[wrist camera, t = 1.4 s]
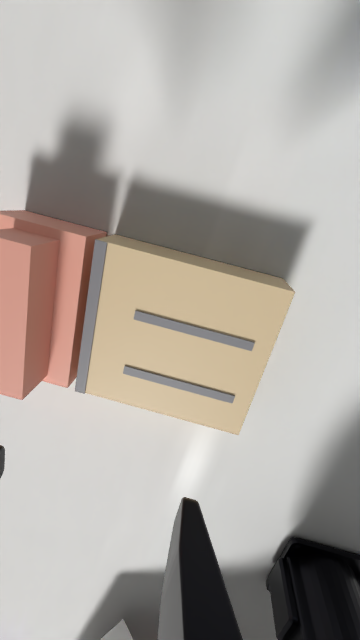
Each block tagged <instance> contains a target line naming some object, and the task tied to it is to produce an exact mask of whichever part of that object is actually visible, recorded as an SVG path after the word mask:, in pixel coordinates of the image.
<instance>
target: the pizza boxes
mask: <svg viewBox="0 0 360 640" xmlns="http://www.w3.org/2000/svg"><path fill="white" fill-rule="evenodd" d="M100 640H133V638H132V636H131V634H130V632H129V630H128V628H127V626H126V623H125V621H124V619H122V620H121V621H120V622H119V623H118V624H117V625H116V626H115V627H114V628H112V629H111V630H110V631H109V632H108V633H107V634H106V635H105V636H103V637H102V638H101V639H100Z"/></svg>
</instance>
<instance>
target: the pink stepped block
mask: <svg viewBox="0 0 360 640" xmlns="http://www.w3.org/2000/svg"><path fill="white" fill-rule="evenodd" d="M106 234H107V232H105V231H101V230H97V229H93V228H89V227H86V226H82V225H78V224H74V223H71V222H67V221H63V220H59V219H55V218H52V217H48V216H44V215H40V214H36V213H33V212H29V211H25V210H19V211H0V394H2V395H6V396H9V397H13V398H16V399H20V400H23V399H24V398H25V397H26V396H27V395H28V394H29V393H30V392H31V391H32V390H33V389H34V388H35V387H36V386H37V385H38V384H39V383H40V382H41V381H44V382H48V383H51V384H55V385H59V386H62V387H66V388H68V387H69V386H70V384H71V383H72V382H73V381H74V380H75V378H76V377H77V371H78V364H79V356H80V349H81V341H82V334H83V326H84V319H85V311H86V304H87V296H88V289H89V281H90V274H91V266H92V259H93V251H94V244H95V239H99V238H103V237H106Z"/></svg>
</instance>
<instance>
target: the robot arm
mask: <svg viewBox="0 0 360 640" xmlns="http://www.w3.org/2000/svg"><path fill="white" fill-rule="evenodd" d="M4 461H5V448H4V447H3V446H1V445H0V478H1V476H2V474H3V471H4ZM266 586H267V590H268V591H270V593H271V601H272V608H273V615H274V623H275V630H276V637H277V638H278V640H360V555H357V554H353V553H349V552H346V551H342V550H339V549H335V548H332V547H328V546H325V545H321V544H318V543H314V542H311V541H307V540H304V539H300V538H292V539H290V541H289V542H288V544H287V546H286V548H285V549H284V551H283V553H282V555H281V556H280V558H279V559H278V560H277V562H276V564H275V566H274V568H273V569H272V571H271V573H270V575H269V577H268V579H267V581H266ZM157 640H243V639H242V636H241V633H240V630H239V627H238V624H237V621H236V618H235V615H234V611H233V608H232V605H231V602H230V599H229V596H228V593H227V590H226V587H225V583H224V580H223V577H222V574H221V571H220V568H219V565H218V562H217V559H216V556H215V552H214V549H213V546H212V543H211V540H210V537H209V534H208V531H207V528H206V524H205V521H204V518H203V515H202V512H201V509H200V506H199V503H198V502H197V501H196V500H193V499H190V498H186V497H184V498H182V500H181V503H180V506H179V509H178V512H177V515H176V518H175V521H174V526H173V531H172V537H171V542H170V548H169V554H168V559H167V565H166V570H165V576H164V582H163V588H162V594H161V603H160V614H159V626H158V639H157Z"/></svg>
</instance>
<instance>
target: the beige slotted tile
mask: <svg viewBox="0 0 360 640" xmlns="http://www.w3.org/2000/svg"><path fill="white" fill-rule="evenodd" d="M294 294H295V291H294V290H293V289H292V288H291V287H290V286H289V285H288V284H287V283H286V281H285V280H284V279H283V278H279V277H275V276H272V275H268V274H264V273H260V272H256V271H253V270H249V269H245V268H241V267H237V266H234V265H230V264H226V263H222V262H218V261H215V260H211V259H207V258H203V257H199V256H196V255H192V254H188V253H184V252H180V251H177V250H173V249H169V248H165V247H162V246H158V245H154V244H150V243H146V242H143V241H139V240H135V239H131V238H127V237H124V236H120V235H116V234H114V235H110V236H107V237H103V238H99V239H95V244H94V251H93V259H92V266H91V274H90V281H89V289H88V296H87V304H86V311H85V319H84V326H83V334H82V341H81V349H80V356H79V364H78V371H77V379H76V386H75V391H76V392H80V393H84V394H85V393H88V394H91V395H95V396H98V397H102V398H106V399H109V400H113V401H117V402H120V403H124V404H127V405H131V406H135V407H138V408H142V409H146V410H149V411H153V412H156V413H160V414H164V415H167V416H171V417H174V418H178V419H182V420H185V421H189V422H193V423H196V424H200V425H203V426H207V427H211V428H214V429H218V430H221V431H225V432H229V433H232V434H236V435H239V432H240V430H241V427H242V425H243V422H244V420H245V417H246V415H247V412H248V410H249V407H250V405H251V402H252V400H253V397H254V395H255V392H256V390H257V387H258V385H259V382H260V380H261V377H262V374H263V372H264V369H265V367H266V364H267V362H268V359H269V357H270V354H271V352H272V349H273V347H274V344H275V342H276V339H277V337H278V334H279V332H280V329H281V327H282V324H283V321H284V319H285V316H286V314H287V311H288V309H289V306H290V304H291V301H292V299H293V296H294Z"/></svg>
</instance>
